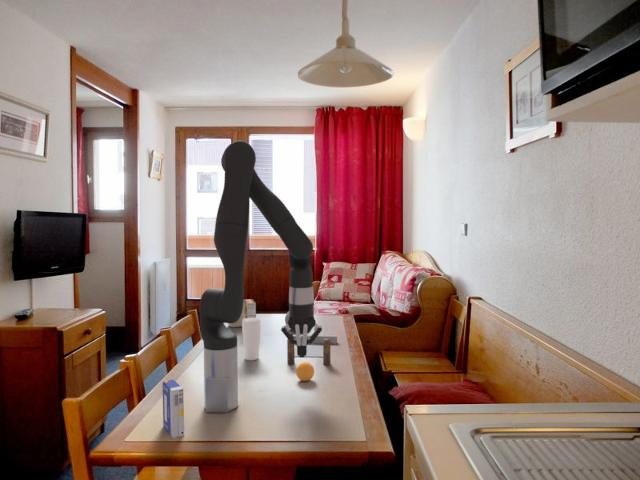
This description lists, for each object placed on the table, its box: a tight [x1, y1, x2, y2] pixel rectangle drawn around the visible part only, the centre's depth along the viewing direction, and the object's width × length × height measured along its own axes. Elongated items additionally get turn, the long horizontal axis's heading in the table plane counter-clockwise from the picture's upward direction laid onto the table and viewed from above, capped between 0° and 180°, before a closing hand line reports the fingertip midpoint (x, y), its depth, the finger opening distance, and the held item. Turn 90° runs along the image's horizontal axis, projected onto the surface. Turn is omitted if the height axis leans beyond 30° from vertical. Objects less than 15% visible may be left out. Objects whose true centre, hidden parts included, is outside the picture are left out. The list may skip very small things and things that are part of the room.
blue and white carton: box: [162, 379, 185, 439], centre depth 111 cm, size 8×3×12 cm, turn 36°
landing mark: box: [294, 345, 323, 358], centre depth 178 cm, size 14×14×1 cm
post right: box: [322, 339, 331, 366], centre depth 163 cm, size 3×3×9 cm
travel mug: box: [227, 302, 245, 328], centre depth 222 cm, size 8×8×18 cm
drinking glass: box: [241, 317, 262, 362], centre depth 169 cm, size 7×7×15 cm
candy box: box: [244, 298, 257, 318], centre depth 206 cm, size 9×4×15 cm, turn 17°
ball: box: [295, 361, 315, 382], centre depth 146 cm, size 6×6×6 cm
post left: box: [286, 338, 296, 365], centre depth 163 cm, size 3×3×9 cm
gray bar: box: [292, 334, 338, 345], centre depth 191 cm, size 2×20×3 cm, turn 87°
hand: (302, 356), depth 137 cm, fingers closed
